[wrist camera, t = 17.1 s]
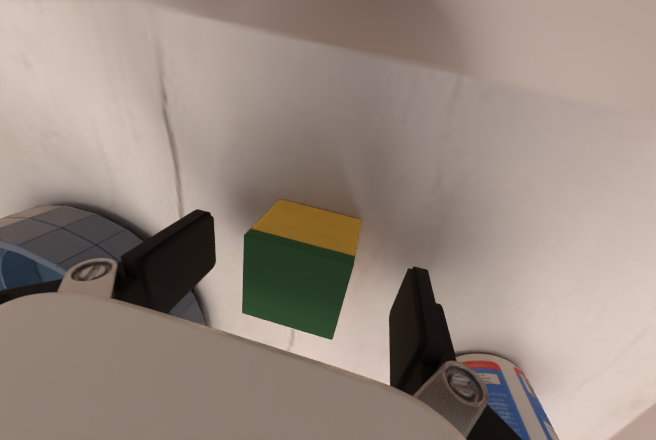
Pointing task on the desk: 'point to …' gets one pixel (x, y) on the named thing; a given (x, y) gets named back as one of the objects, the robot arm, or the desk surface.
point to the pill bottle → (511, 396)
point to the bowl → (66, 248)
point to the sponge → (299, 266)
